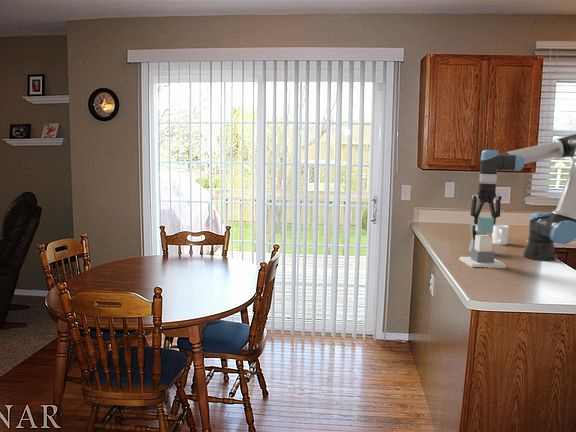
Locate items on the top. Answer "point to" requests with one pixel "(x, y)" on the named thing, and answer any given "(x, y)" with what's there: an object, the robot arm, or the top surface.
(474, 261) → the tower base
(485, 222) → the teal block
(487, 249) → the cream block
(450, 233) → the top surface
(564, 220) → the robot arm
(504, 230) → the mug
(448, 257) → the top surface
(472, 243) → the coffee maker
